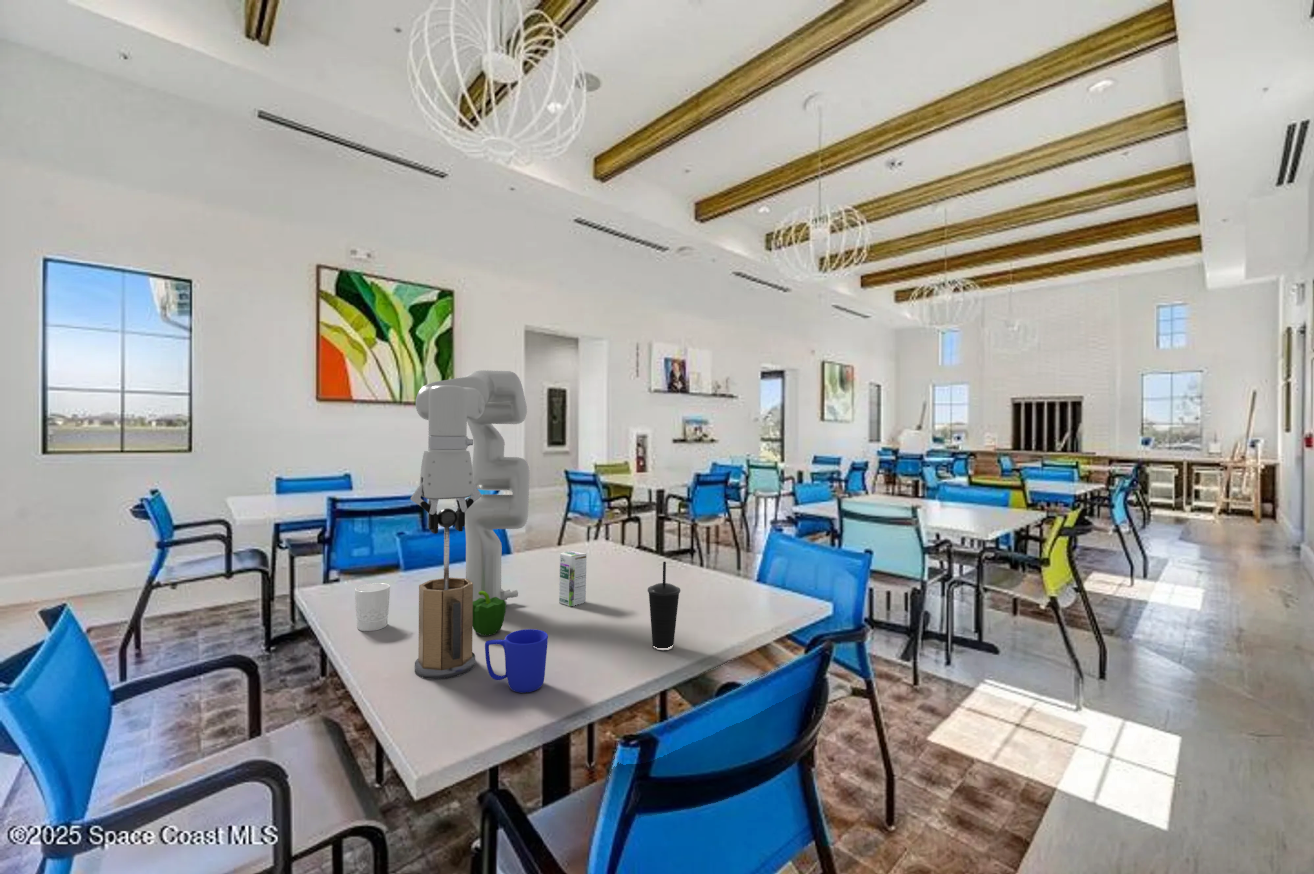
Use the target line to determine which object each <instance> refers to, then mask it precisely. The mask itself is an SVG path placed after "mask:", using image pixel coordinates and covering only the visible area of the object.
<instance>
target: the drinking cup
mask: <svg viewBox="0 0 1314 874" xmlns="http://www.w3.org/2000/svg"><path fill="white" fill-rule="evenodd" d="M666 574H667V562H666V561H663V562H662V582H659V583H656V584H653V585H650V586H649V587H648V588H647V592H648V598H649V600H648V601H649V602H648V603H649V616H650V625H651V626H650V627H651V628H650V629H651V641H652V642H651V643H652V644H653V645H652V647H653V646H655V647H657V648H668V647H670V646H672V645H673V644H674V642H675V637H676V636H675V634H676V625H677V615H678V614H677V613H678V606H679V598H680V593H681V588H680V587H679V586H676V585H674V584H673V583H672V584H671V583H667V582H666V579H667V578H666V576H667V575H666ZM673 646H674V645H673Z"/></svg>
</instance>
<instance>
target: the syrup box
mask: <svg viewBox="0 0 1314 874" xmlns="http://www.w3.org/2000/svg"><path fill="white" fill-rule="evenodd" d="M587 556H588V555H587V553H585V552H584V553H583V552H579V551H575V550H569V551H565V552H561V553H559V583H558V585H559V586H558V587H559V588H558V590H559V591H558V604H562V605H564V606H568V607H570V606H573V607H575V605H576V606H578V605H577V604H579V605H582V604H585V603H586V599H587V598H586V597H587V596H586V595H587V594H586V593H587V591H586V589H587ZM584 602H585V603H584ZM581 603H582V604H581Z"/></svg>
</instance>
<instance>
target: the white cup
mask: <svg viewBox="0 0 1314 874" xmlns="http://www.w3.org/2000/svg"><path fill="white" fill-rule="evenodd" d="M390 591H391V584H388V583H385V582H374V583H373V582H372V583H366V584H361V585H359V586H357V587H355V588H354V597H355V598H354V599H355V617H356V628H357V630H358V631H361V632H373V631H378V630H381V629H384V628H386V627H387V625H388V621H389V619H388V618H389V607H390V597H391V596H390V593H391V592H390Z"/></svg>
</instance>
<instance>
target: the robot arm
mask: <svg viewBox="0 0 1314 874" xmlns="http://www.w3.org/2000/svg"><path fill="white" fill-rule="evenodd" d="M415 409H416V412H417V414H418V416H420V417H421V418H422V419H423V420H425V421H428V437H427V438H428V442H427V443H428V445H427V446H428V449H427V450H424V451H423V453H422V454H423V455H422V459H421V466H420V467H421V468H420V473H419V475H420V476H419V477H420V478H419V485H418V486H417V489H416V490H415V491H414V493H413V494H412V495H411V496H410V500H411V502H413V503H415V504H416V505H419V506H420V507H421V508H422V509H424V511H425V512H427V514H428V530H430V532H431V533H432V534H434V535H435V534H436V535H437V534H438V533H439V524H438V513H437V508H438V505H439V504H438V503H439V500H451V499H452V500H453V499H455V503H456V507H457V508H456V509H457V510H455V513H456V515H457V520H456V523H455V524H454V529H455V530H456V531H458V532H463V531H465V579H468V580H470V581H471V582H472V583H473V601H476V600H477V599H479V598H484V599H485V596H484V595H479V592H480V591H485V592H486V593H487V594H488V595H489V598H490V599H491V598H493V597H497V598H499V599H501V600H504V601H505V603H506V607H507V605H508V604H507V603H508V602H507V600H508V599H511V598H512V599H513V598H518V596H519V592H518V590H517V589H516V590H511V589H505V590H504V589H503V588H502V553H503V552H502V551H503V550H502V547H503V546H502V542H501V540H500V538H499V536H498V535H497V533H495V531H494V530H498V529H499V530H519V529H522V528H524V527H525V526H526V524H527V522H528V517H529V500H530V497H529V495H530V478H531V477H530V467H529V464H528V461H527V460H526V459H524V458H523V457H518V456H505V445H506V444H505V439H504V438H503V436H502V434H501V433H500V432H499V430H497V428H495V426H494V425H519V424H521V423H523V422H524V421H525V420H526V418H527V415H528V414H527V413H528V409H527V400H526V397H525V392H524V389H523V385H522V381H521V380H520V377H519V376H518V375H517V374H516V373H515V372H513V371H511V370H489V369H487V370H486V369H485V370H484V369H483V370H475V371H472V372H471V373H469V374H467V375H465V376H462V377H461V376H460V377H455V378H450V379H445V380H438V381H433V382H430V383H429V382H428V383H427V384H425V385H423V386H422V387H421V388H420V389H419V391H418V392H417V395H416V397H415ZM467 426H468V427H469V430H470V433H471V436H472V438H468V437H469V436H467V428H468V427H467ZM470 446H473V450H472V451H473V452H472V457H471V452H470V451H469V450H468V448H469V447H470ZM481 491H508V492H511V493H512V494H490V493H489V494H485V493H484V494H482V493H481ZM421 497H423V498H425V499H428V502H427V501H425V500H423V499H422V498H421ZM463 528H464V530H463Z"/></svg>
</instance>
